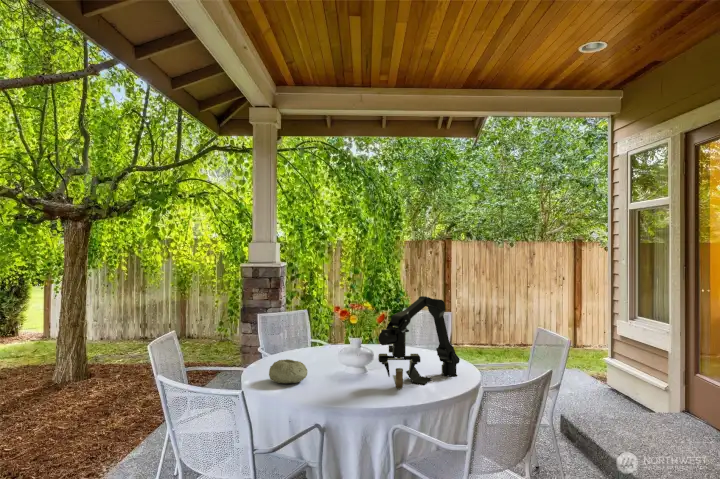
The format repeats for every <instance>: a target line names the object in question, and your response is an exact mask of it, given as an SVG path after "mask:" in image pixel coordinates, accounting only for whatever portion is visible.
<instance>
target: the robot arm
mask: <svg viewBox="0 0 720 479" xmlns="http://www.w3.org/2000/svg"><path fill="white" fill-rule="evenodd" d="M445 303H446V302H445V301H444V300H443V299H439V298H432V297H429V296H425V295H420V296H419V297H418V299H417V300H415V301H414V302H413V303H412V304H410V305H408V307H406V308H405V309H404V310H402V311H398V312H396V313H395V314H393V315H392V316H391V318H390V320H389V322H388V324H387V326H386V328H385V329H384V328H383V329H381V331H380V333H379V335H378V337H377V338H378V343H379V344H380V345H381V346H386V345H388V353H392V355H388V354H387V353H379V354H377V356H378V359H377V360H378V362H379V363H381V364H382V365H384V367H385V370H386V372H387V377H388V378H390V376H391V375H390V366H389V361H409V365H408V366H409V367H408V370H409V376H408V378H409V377H410V375H411V373H412V370H413V368H414V367H416V366H415V365H418V364H419V363H421V356H420V354H419V353H410V355H406V347H407V346H406V343H407V342H406V333H409V332H410V330H409V329H408V328H407V327H408V326H409V325H410V323H411V320H412V318H414V316H416V315H417V314H418V313H419V312H420V311H422V310H423V309H425V308H427V310H428V313H429V314H430V315H431V316H432V318H433V321H434V325H435V331H436V333H437V334H436V335H437V339H438V347H437V348H436V349H435V350H436V353H437V355H436V356H438V358H439V361H440V362H442V364H441V374H442V375H443V376H444V377H458V374H457V365H458V364H460V360H461V359H460V358H459V356H458V355H457V352H456V351H455V348H454V346H453V345H452V343H451V342H450V339H449V334H448V331H447V330H448V329H447V326H446V325H447V324H446V321H445V316H444V315H445V312H446V304H445Z"/></svg>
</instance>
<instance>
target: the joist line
mask: <svg viewBox="0 0 720 479" xmlns="http://www.w3.org/2000/svg"><path fill="white" fill-rule="evenodd" d="M392 376H393V379H394V382H395V384H396V374H393V375H392ZM396 388H397V387H396ZM402 389H403V387H402V388H397V390H402Z"/></svg>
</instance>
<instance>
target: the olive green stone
mask: <svg viewBox="0 0 720 479" xmlns="http://www.w3.org/2000/svg"><path fill="white" fill-rule="evenodd" d="M308 372H309V371H308V368H307V366H306V365H305V364H304V363H303V362H301V361H299V360H294V359H287V358H286V359H279V360H276V361H274V362H273V364H272V365H271V366H270V367H269V371H268V377H269V379H270V381H272V382H274V383H278V384H296V383H299V382H300V383H301V382H302V381H303V380H304V379H306V378H307V376H308Z"/></svg>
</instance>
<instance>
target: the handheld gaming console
mask: <svg viewBox="0 0 720 479" xmlns="http://www.w3.org/2000/svg"><path fill="white" fill-rule="evenodd" d="M405 372H406V374H407V375H408V378H409V379H410V381H411V383H412V384H414V385H419V384H420V385H419V386H425V385H426V383H427V382H428V383H429V382H430V381H431V380H432V377H429V376H428V377H427V376H422V375H421V374H420V373H419V371H418V370H417V368H416V366H414V368H413V370H412V373H411V375H410V377H409V369H408V370H406V371H405ZM428 383H427V384H428Z"/></svg>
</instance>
